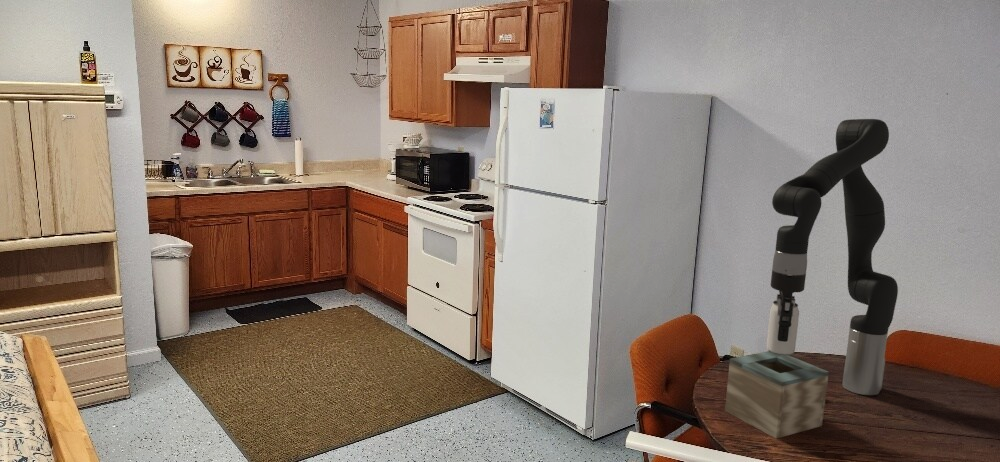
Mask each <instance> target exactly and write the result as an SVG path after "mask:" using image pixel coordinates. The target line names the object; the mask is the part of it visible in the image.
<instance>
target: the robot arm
mask: <svg viewBox="0 0 1000 462" xmlns="http://www.w3.org/2000/svg"><path fill="white" fill-rule="evenodd" d="M889 137H890V130H889V126H888V125H887V123H886V122H885V121H883V120H882V119H878V118H876V119H875V118H860V119H859V118H858V119H857V118H856V119H855V118H853V119H852V118H851V119H845V120H842V121H841V122H840V123H839V124H838V126H837V128H836V131H835V147H836V152H834V153H831V154H829V155H827V156H824V157H823V158H821V159H820V160H817V161H816V162H815V163H814V164H813V165H812V166H810V168H809V169H808V170H806V171H805V172H804V173H803V174H801V175H798V176H796V177H794V178H793V179H791V180H788V181H786V182H785V183H782V185H780V186H779V187H778V188H777V189H776V190H775V192H774V194H773V196H772V203H771V204H772V208H773V210H775V212H776V213H778V214H780V215H783V216H790V217H795V218H797V220H796V221H795V223H794V224H792V225H789V224H788V225H783V226H780V227H779V228H778V229H777V232H776V241H775V250H774V254H773V258H772V267H771V279H770V287H771V288H772V289H773V290H776V291H778V293H777V294H776V301H777V304H778V313H777V315H778V316H779V322H778V324H779V330H778V341H783V342H787V341H788V332H789V327H790V326H791V319H792V316H793V309H794V305H795V303H796V298H795V297H796V296H795V295H793V294H794V293H802V292H803V291H804V290H805V287H806V277H807V269H808V250H809V241H810V240H809V239H810V235H811V232H812V230H813V227H814V225H815V222H816V220H817V218H818V215H819V213H820V211H821V209H822V198H823V197H824V196H826V195H827V194H828V193H829V192H830V191H831V190H832V189H833V188H835V186H836V185H837V184H838V183H840V181H842V189H843V199H844V216H845V217H844V218H845V226H846V234H847V235H846V236H847V237H846V239H847V254H848V255H847V256H848V259H847V289H848V290H847V291H848V294H849V296H850V297H851V299H853V300H854V301H855V302H858V303H860V304H864V305H866V306H867V310H866V313H865V314H857V315H854V316H852V317H851V319H850V324H849V330H848V331H849V332H848V339H847V347H846V353H845V363H844V368H843V376H842V388H844V389H845V390H847V391H849V392H851V393H854V394H856V395H857V394H858V395H864V396H875V395H879V394H880V391H882V388H883V380H884V372H885V364H886V357H885V354H886V348H887V341H888V333H889V328H890V327H891V324H892V322H893V320H894V314H895V308H896V304H897V299H898V293H899V286H898V283H897V280H896V279H895V278H894V277H892V276H890V275H887V274H884V273H883V274H882V273H881V272H877V271H874V270H873V264H872V263H873V262H872V259H873V258H872V255H873V251H874V248H875V246H876V244H877V243H878V242H879V240H880V238H881V237H882V235H883V234H884V230H885V227H886V216H885V215H886V214H885V205H884V200H883V197H882V195H880V193H879V191H878V190H877V189H876V188H875V186H874V185H873V183H872V182H871V181H870V180H869V178H868V177H867V175H866V174H865V172H864V170H863V167H862V166H863V165H864V164H866V163H867V162H869V161H870V160H872V159H874V158H875V157H877V156H878V155H880V154H881V153H883V151H884V150H885V148H886V147H887V145H888V143H889V140H890V139H889ZM780 306H781V311H780ZM783 317H788V321H782V318H783Z"/></svg>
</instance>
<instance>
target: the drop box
mask: <svg viewBox="0 0 1000 462" xmlns="http://www.w3.org/2000/svg"><path fill="white" fill-rule="evenodd" d="M829 374H830V372H829V370H826V369H823V368H821V367H818V366H816V365H813V364H811V363H809V362H806V361H804V360H801V359H798V358H796V357H793V356H791V355H779V354H775V353H772V352H770V351H769V350H768V351H762V352H757V353H752V354H746V355H741V356H738V357H732V358H729V366H728V375H727V376H728V377H727V384H726V385H727V387H726V395H725V397H726V398H725V407H724V412H726V413H728V414H729V415H731V416H734V417H735V418H737V419H739V420H741V421H743V422H745V424H748V425H750V426H752V427H754V428H756V429H757V430H759V431H761V432H763V433H765V434H767V435H768V436H770V437H772V438H774V439H776V440H777V439H780V438H783V437H788V436H790V435H794V434H797V433H800V432H805V431H809V430H812V429H813V430H814V429H816V428H820V427H823V421H824V420H823V419H824V414H825V413H824V412H825V404H826V396H827V390H828V381H829Z"/></svg>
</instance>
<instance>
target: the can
mask: <svg viewBox="0 0 1000 462" xmlns="http://www.w3.org/2000/svg"><path fill="white" fill-rule="evenodd" d="M772 303H773V304H772V306H770V310H769V311H770V312H769V317H768V318H769V320H768V328H767V330H768V331H767V340H766V349H767V350H768V351H770V352H772V353H775V354H779V355H789V356H791V355H793V354H794V353H795V352H796V347H797V338H798V337H797V336H798V327H799V318H800V309H799V304H798V303H797V302H795V305H794V309H793V316H792V319H791V326H790V327H789V332H788V341H787V342H783V341H778V330H779V324H778V322H779V316H778V315H777V313H778V304H777V300H774V301H773V302H772ZM780 311H781V306H780ZM782 321H788V317H783V318H782Z"/></svg>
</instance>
